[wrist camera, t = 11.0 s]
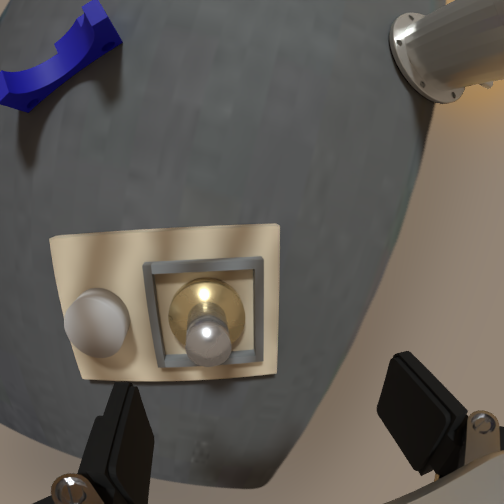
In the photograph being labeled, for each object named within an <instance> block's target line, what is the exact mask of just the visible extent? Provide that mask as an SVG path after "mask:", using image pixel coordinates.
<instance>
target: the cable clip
mask: <svg viewBox="0 0 504 504" xmlns="http://www.w3.org/2000/svg"><path fill="white" fill-rule="evenodd" d="M82 9H83V11H84V14H83V15H81V16H80V17H78V18H77V19H76V21H75V23H74V24H73V26H72V27H71V28H70V30H69V31H68V32H67V33H66V34H65V35H64V36H63V37H62V38H61V39H60V40H59V41H57V42H56V43H55V44H54V45H55V47H56V49H57V52H58V54H56V55H55V56H53V57H52V58H50V59H49V60H47V61H45V62H44V63H42V64H40V65H38V66H36V67H33V68H31V69H28V70H24V71H20V72H6V71H3V70H2V71H1V72H0V104H1V105H4V106H8V107H11V108H14V109H18V110H21V111H24V112H27V113H29V112H30V111H31V110H32V109H33V108H34V107H35V106H36V105H38V104H39V103H40V102H41V101H42V100H43V99H44V98H46V97H47V96H48V95H49V94H50V93H52V92H53V91H54V90H55V89H57V88H58V87H59V86H60V85H62V84H63V83H64V82H65V81H67V80H68V79H69V78H71V77H72V76H73V75H75V74H76V73H77V72H79V71H80V70H82V69H83V68H84V67H86V66H87V65H89V64H90V63H92V62H93V61H95V60H96V59H98V58H99V57H101V56H102V55H104V54H105V53H107V52H108V51H110V50H112V49H113V48H115V47H116V46H118V45H120V44H121V43H123V42H122V40H121V38H120V37H119V35H118V33H117V31H116V30H115V28H114V26H113V24H112V23H111V21H110V19H109V17H108V16H107V14H106V12H105V11H104V9H103V7H102V5H101V4H100V2H99V1H98V0H92V1H90V2H89V3H87V4H85V5H84V6H82Z"/></svg>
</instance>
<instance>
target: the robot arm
mask: <svg viewBox="0 0 504 504" xmlns="http://www.w3.org/2000/svg"><path fill="white" fill-rule="evenodd" d="M389 39H390V47H391V50H392V54H393V56H394V59H395V61H396V64H397V65H398V67H399V69H400V71H401V73H402V74H403V75H404V77H405V78H406V80H407V81H408V82H409V83H410V84H411V85H412V87H413V88H414V89H415V90H416V91H418V92H419V93H420V94H421V95H422V96H424V97H425V98H427V99H428V100H431V101H433V102H435V103H440V104H445V103H451V102H455V101H456V100H457V99H459V98H460V97H461V95H462V94H463V92H464V90H465V87H466V86H471V85H476V84H480V85H481V86H483V87H485V88H487V89H489V88H491V87H492V85H493V81H496V80H502V79H504V0H455V1H453V2H451V3H449V4H447V5H445V6H443V7H441V8H439V9H437V10H436V11H434V12H432V13H430V14H428V15H426V16H424V15H421V14H418V13H405V14H403V15H401V16H399V17H398V18H397V19H395V21H394V22H393V23H392V25H391V28H390V34H389ZM467 412H468V411H467V409H466V408H465V407H464V406H463V405H462V404H461V403H460V402H459V401H458V400H457V399H456V398H455V397H454V396H453V395H452V394H451V393H450V392H449V391H448V390H447V389H446V388H445V387H444V386H443V385H442V383H441V382H439V380H437V378H436V377H435V376H434V375H433V374H432V373H431V372H430V371H429V370H428V369H427V368H426V367H425V366H424V365H423V364H422V363H421V362H420V361H419V360H418V359H417V358H416V357H415V356H414V355H413V354H412V353H411V352H409V351H405V352H401V353H397V354H395V355H394V356H393V358H392V359H391V360H390V363H389V366H388V370H387V374H386V378H385V381H384V385H383V389H382V392H381V395H380V399H379V402H378V405H377V413H378V415H379V417H380V418H381V420H382V421H383V423H384V425H385V426H386V428H387V429H388V431H389V432H390V434H391V435H392V437H393V438H394V439H395V441H396V443H397V444H398V446H399V447H400V449H401V451H402V452H403V454H404V455H405V457H406V458H407V460H408V461H409V463H410V464H411V466H412V467H413V469H414V470H416V471H419V473H420V475H421V476H422V475H424V474H426V473H428V472H430V471H432V470H434V471H435V473H436V474H435V479H434V482H432V483H430V484H428V485H426V486H424V487H422V488H420V489H418V490H416V491H414V492H411V493H409V494H407V495H404V496H402V497H400V498H397V499H395V500H392V501H390V502H387V503H384V504H504V427H501V426H499V423H498V420H497V418H496V417H495V416H494V415H493V414H492V413H489V412H487V411H476V412H473V413H472V414H470V416H469V417H468V416H467ZM153 449H154V435H153V432H152V429H151V427H150V424H149V421H148V418H147V415H146V412H145V409H144V406H143V403H142V400H141V397H140V393H139V390H138V388H137V387H133V385H132V383H130V382H115V384H114V386H113V389H112V392H111V394H110V397H109V400H108V403H107V406H106V409H105V412H104V415H103V416H97V417H96V419H95V421H94V424H93V427H92V430H91V433H90V436H89V439H88V442H87V445H86V448H85V451H84V454H83V457H82V460H81V464H80V467H79V470H78V473H77V474H75V473H68V474H64V475H61V476H59V477H58V478H57V479H56V480H55V481H54V482H53V484H52V486H51V496H48V497H46V498H44V499H42V500H40V501H38V502H35V503H33V504H148V495H149V484H150V475H151V466H152V458H153Z"/></svg>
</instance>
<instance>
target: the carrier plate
mask: <svg viewBox="0 0 504 504" xmlns="http://www.w3.org/2000/svg"><path fill="white" fill-rule="evenodd" d="M49 240H50V247H51V254H52V261H53V267H54V273H55V278H56V283H57V288H58V293H59V298H60V302H61V307H62V311H63V315H64V327H65V331H66V334H67V336H68V338H69V339H70V341H71V345H72V348H73V351H74V355H75V358H76V361H77V364H78V367H79V370H80V373H81V376H82V379H93V380H112V381H189V380H209V379H224V378H237V377H248V376H258V375H267V374H275V373H277V349H278V314H279V262H280V226H279V225H277V224H247V225H222V226H199V227H179V228H160V229H143V230H127V231H112V232H98V233H84V234H71V235H59V236H54V237H52V238H50V239H49ZM198 278H215V279H218V280H221V281H223V282H225V283H227V284H229V285H230V286H231V287H233V288H234V289H235V290H236V292H237V293H238V295H239V296H240V298H241V301H242V304H243V307H244V310H245V325H244V328H243V331H242V333H241V335H240V336H239V337H238V339H237V340H236V341H235V342H234V343H232V344H231V347H232V349H231V354H230V356H229V357H228V359H227V360H226V361H225V362H223V363H222V364H220V365H218V366H214V367H203V366H200V365H197V364H195V363H194V362H193V361H191V360H190V359H189V357H188V356H187V353H186V349H185V345H183V344H182V343H181V342H180V341H178V339H177V338H176V337H175V336H174V334H173V333H172V331H171V328H170V325H169V319H168V315H169V309H170V305H171V301H172V298H173V296H174V295H175V293H176V292H177V290H178V289H179V288H180V287H181V286H183V285H184V284H186V283H187V282H189V281H192V280H194V279H198Z"/></svg>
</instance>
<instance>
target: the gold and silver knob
mask: <svg viewBox="0 0 504 504" xmlns="http://www.w3.org/2000/svg"><path fill="white" fill-rule="evenodd" d="M168 319H169V325H170V328H171V331H172V333H173V334H174V336H175V337H176V338H177V339H178V341H180V342H181V343H182V344H183V345H185V349H186V353H187V356H188V357H189V359H190V360H191V361H193V362H194V363H195V364H197V365H200V366H203V367H214V366H218V365H220V364H222V363H223V362H225V361H226V360H227V359H228V357H229V356H230V354H231V349H232V347H231V344H232V343H234V342H235V341H236V340H237V339H238V337H239V336H240V335H241V333H242V331H243V328H244V325H245V310H244V307H243V304H242V301H241V298H240V296H239V295H238V293H237V292H236V290H235V289H234V288H233V287H231V286H230V285H229V284H227V283H225V282H223V281H221V280H218V279H215V278H198V279H194V280H192V281H189V282H187V283H186V284H184V285H183V286H181V287H180V288H179V289H178V290H177V292H176V293H175V295H174V296H173V298H172V301H171V305H170V309H169V315H168Z"/></svg>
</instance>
